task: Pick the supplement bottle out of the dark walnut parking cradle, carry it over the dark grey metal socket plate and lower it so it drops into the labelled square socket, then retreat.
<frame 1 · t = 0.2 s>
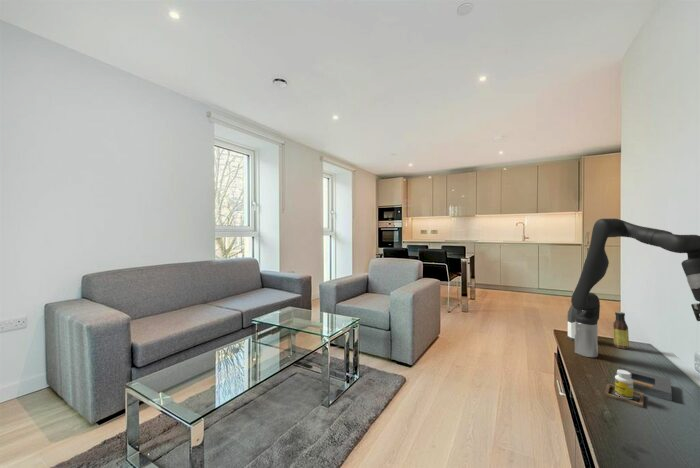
socket plate: (643, 385, 123), on the tv stand
sauce bottle: (621, 347, 163), on the tv stand
wine bottle: (575, 339, 175), on the tv stand
parking cradle: (624, 395, 116), on the tv stand
supplement bottle: (624, 396, 116), resting in parking cradle
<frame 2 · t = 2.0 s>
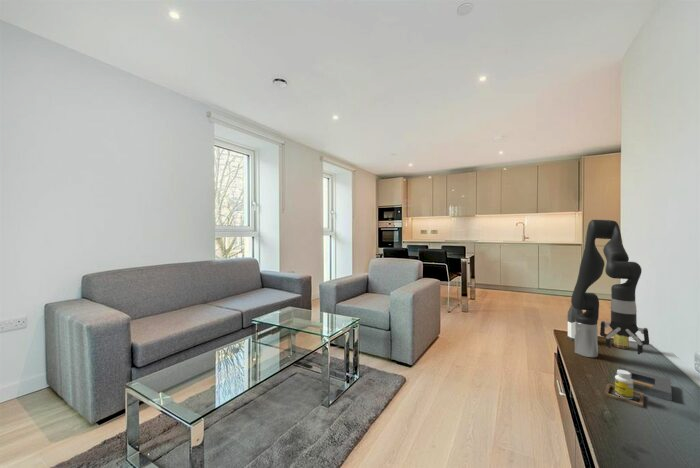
hand: (623, 350, 115), 18 cm above the tv stand, tool pointing down, fingers open, 8 cm apart
nothing on the tv stand moved.
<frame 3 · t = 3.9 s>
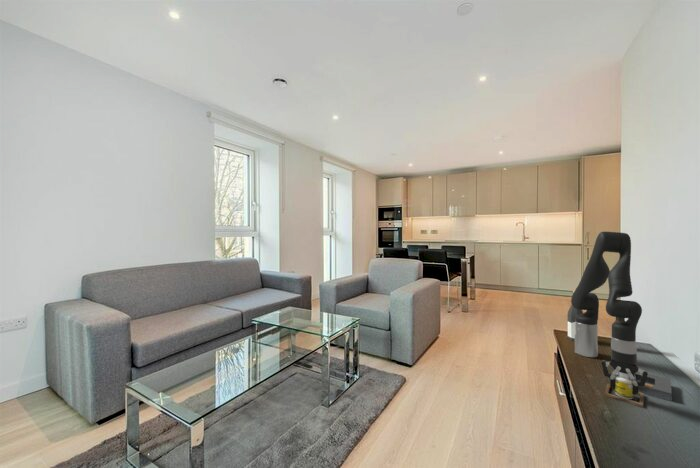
hand: (623, 390, 116), 2 cm above the tv stand, tool pointing down, fingers closed on supplement bottle, 5 cm apart
supplement bottle: (624, 396, 116), resting in parking cradle, touching gripper
everything else where it was.
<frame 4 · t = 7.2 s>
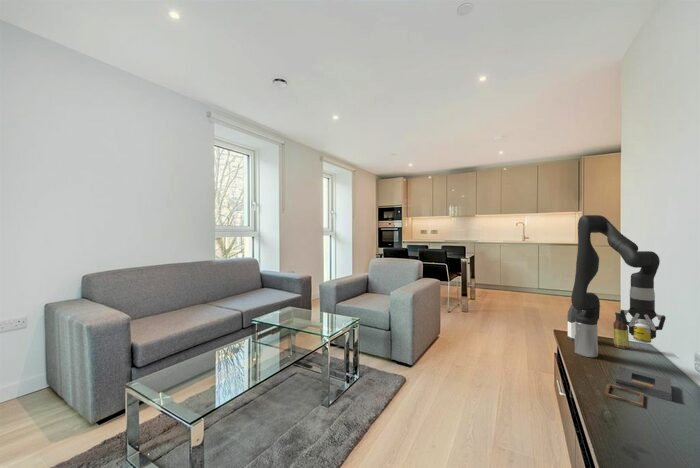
hand: (642, 336, 123), 21 cm above the tv stand, tool pointing down, fingers closed on supplement bottle, 5 cm apart
supplement bottle: (642, 341, 123), point 19 cm above the tv stand, touching gripper
everything else where it was.
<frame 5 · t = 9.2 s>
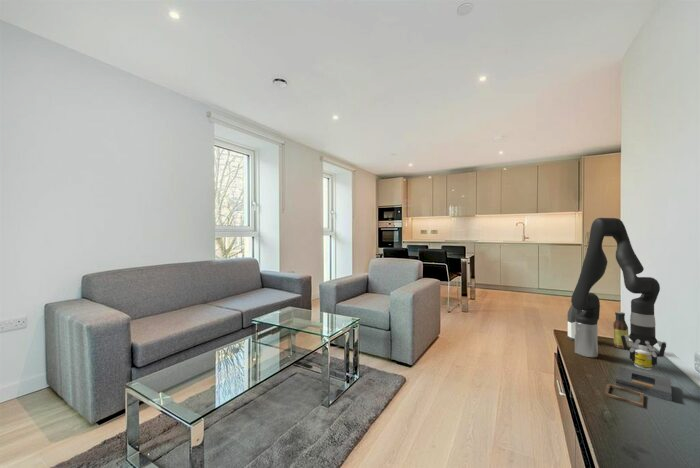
hand: (643, 362, 123), 10 cm above the tv stand, tool pointing down, fingers closed on supplement bottle, 5 cm apart
supplement bottle: (643, 367, 123), point 8 cm above the tv stand, touching gripper
everything else where it was.
when the fingers open (7 cm above the tv stand, at t = 10.8 s): supplement bottle drops 4 cm, resting on socket plate.
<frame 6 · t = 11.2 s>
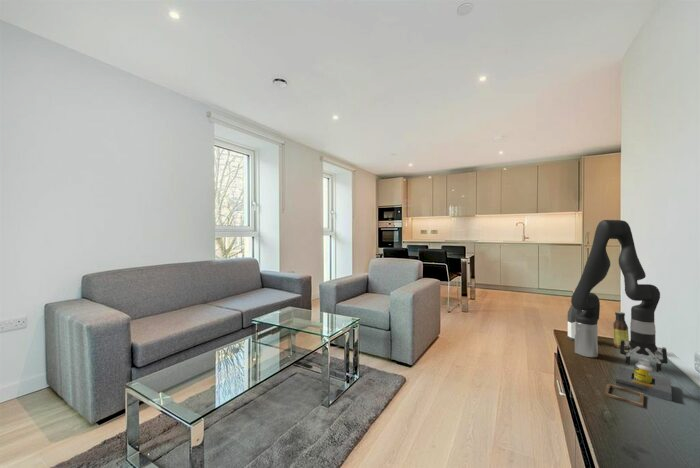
hand: (642, 368, 123), 8 cm above the tv stand, tool pointing down, fingers open, 8 cm apart
supplement bottle: (642, 383, 123), point 1 cm above the tv stand, touching socket plate
everything else where it was.
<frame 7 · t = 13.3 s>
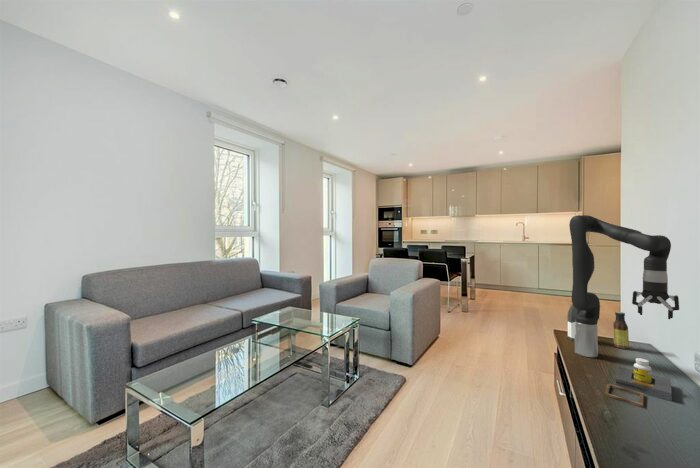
hand: (654, 316, 127), 28 cm above the tv stand, tool pointing down, fingers open, 8 cm apart
nothing on the tv stand moved.
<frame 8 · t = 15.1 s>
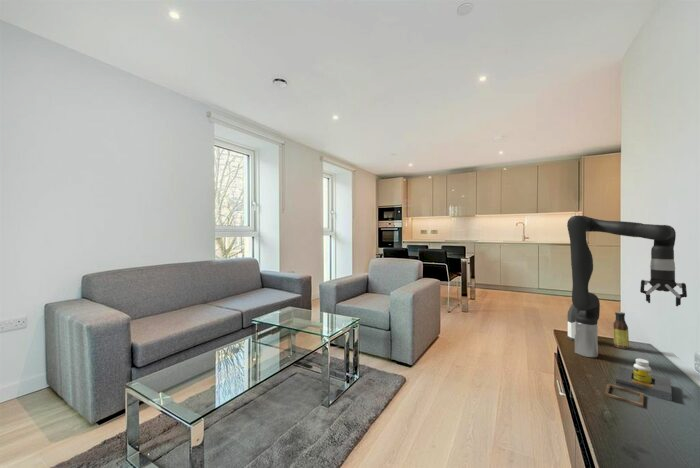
hand: (662, 304, 130), 33 cm above the tv stand, tool pointing down, fingers open, 8 cm apart
nothing on the tv stand moved.
at the end: supplement bottle 0.3 cm off-centre on the socket plate, point 0.9 cm above the socket plate's base; supplement bottle tilted 1°; the gripper is holding nothing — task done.
